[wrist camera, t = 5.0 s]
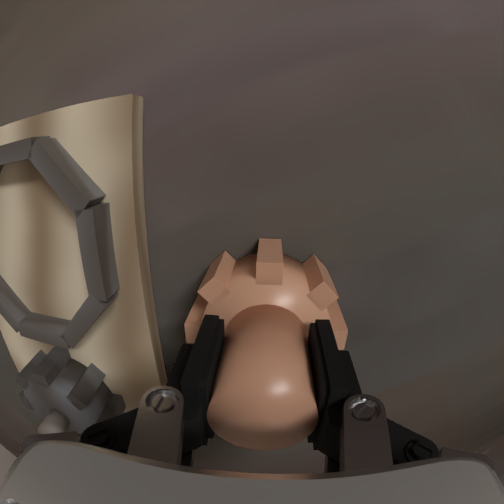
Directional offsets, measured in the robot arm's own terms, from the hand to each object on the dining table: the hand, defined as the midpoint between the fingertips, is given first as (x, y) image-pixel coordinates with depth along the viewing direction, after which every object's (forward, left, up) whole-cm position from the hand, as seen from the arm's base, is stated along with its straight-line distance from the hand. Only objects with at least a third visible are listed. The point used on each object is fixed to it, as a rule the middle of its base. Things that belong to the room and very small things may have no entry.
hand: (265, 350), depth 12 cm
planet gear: (0, 0, -4) cm, 4 cm away
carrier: (+13, +2, -4) cm, 14 cm away
